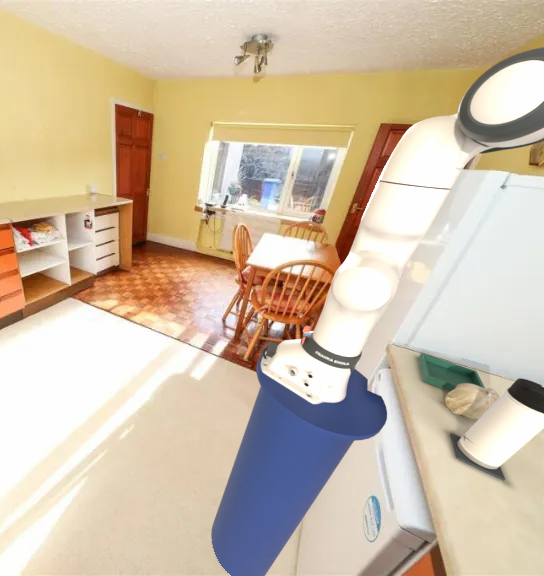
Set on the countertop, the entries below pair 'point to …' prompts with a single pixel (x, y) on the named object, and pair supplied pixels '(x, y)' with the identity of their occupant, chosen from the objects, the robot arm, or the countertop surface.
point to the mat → (462, 457)
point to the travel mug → (505, 425)
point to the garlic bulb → (470, 400)
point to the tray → (446, 373)
